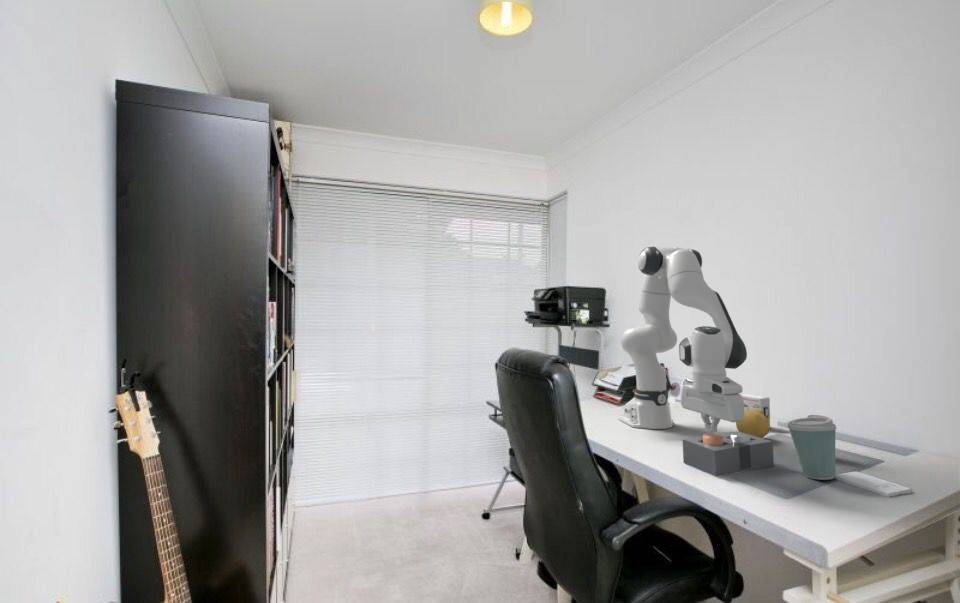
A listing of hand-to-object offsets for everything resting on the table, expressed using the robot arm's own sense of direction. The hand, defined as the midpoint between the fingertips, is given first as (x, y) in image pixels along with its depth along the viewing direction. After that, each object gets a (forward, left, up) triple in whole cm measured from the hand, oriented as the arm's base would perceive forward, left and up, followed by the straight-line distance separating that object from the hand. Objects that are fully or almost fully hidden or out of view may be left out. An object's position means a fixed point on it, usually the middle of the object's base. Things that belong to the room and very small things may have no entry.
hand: (711, 430), depth 130 cm
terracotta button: (0, 0, -9) cm, 9 cm away
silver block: (0, +10, -10) cm, 14 cm away
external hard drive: (+26, +25, -11) cm, 37 cm away
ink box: (-26, +46, -11) cm, 54 cm away
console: (0, +5, -10) cm, 12 cm away
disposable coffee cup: (+17, +18, -10) cm, 27 cm away
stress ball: (-15, +32, -11) cm, 37 cm away
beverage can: (+6, +34, -11) cm, 36 cm away
